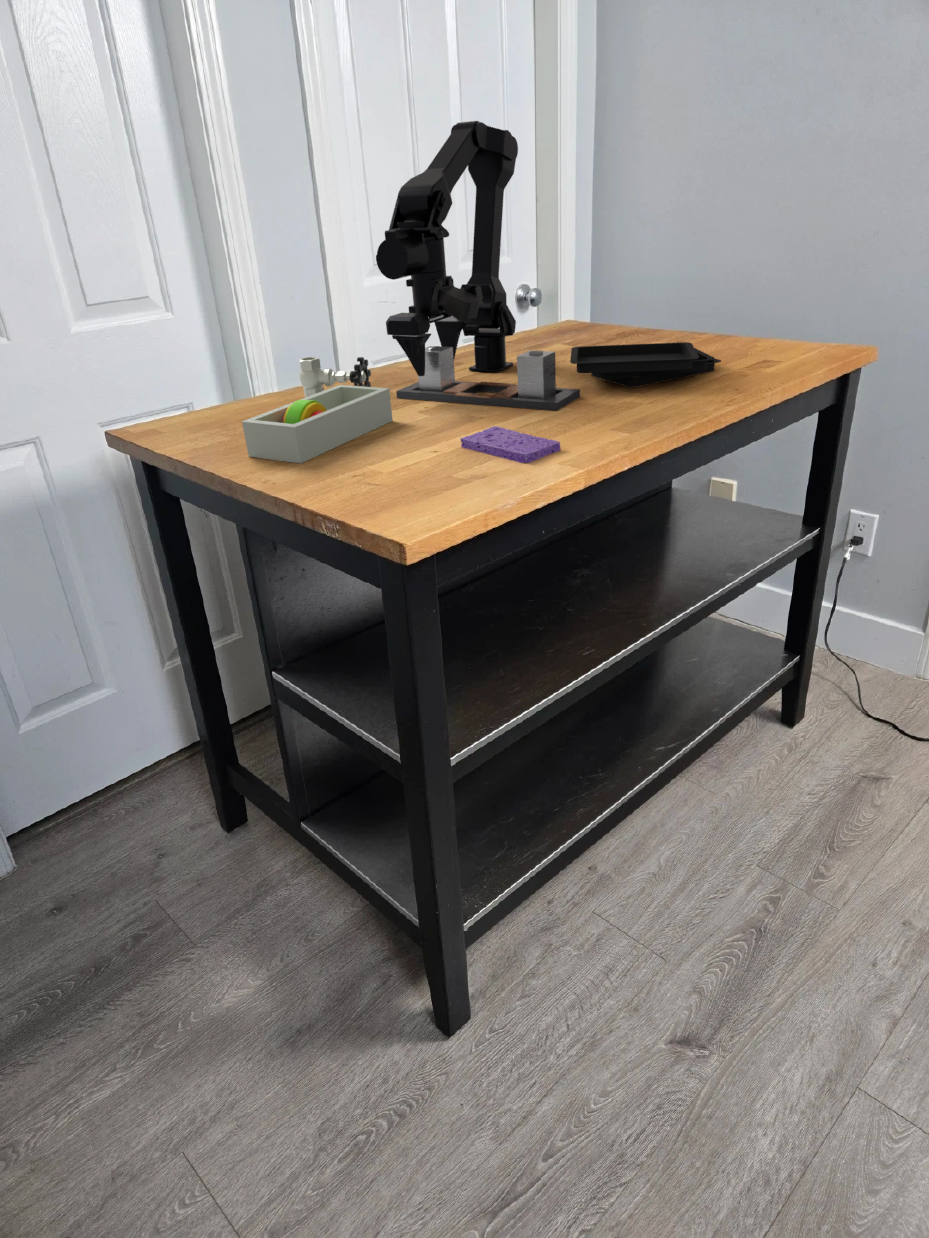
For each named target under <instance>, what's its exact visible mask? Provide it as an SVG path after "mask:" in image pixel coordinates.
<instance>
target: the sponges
mask: <svg viewBox="0 0 929 1238" xmlns="http://www.w3.org/2000/svg"><path fill="white" fill-rule="evenodd" d="M459 438H460V437H459ZM460 443H461V446H460V447H461V448H463V449H467V450H471V451H475V452H479V453H483V454H487V455H491V456H494V457H498V458H502V459H506V460H510V461H513V462H516V463H520V464H529V463H532V462H535V461H537V460H540V459H542V458H544V457H546V456H549V454H550V455H552V454H554V453H557V452H560V451H561V444H560V443H561V441H558V440H554V439H548V438H545V437H540V436H538V437H537V436H535V435H534V436H533V435H531V434H528V433H525V432H519V431H515V430H512V429H507V428H504V427H501V426H499V425H498V426H497V425H494V426H491V427H489V428H486V429H483V430H482V431H477V432H476V433H473V434H470V435H466V436H464V437H461V438H460Z"/></svg>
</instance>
